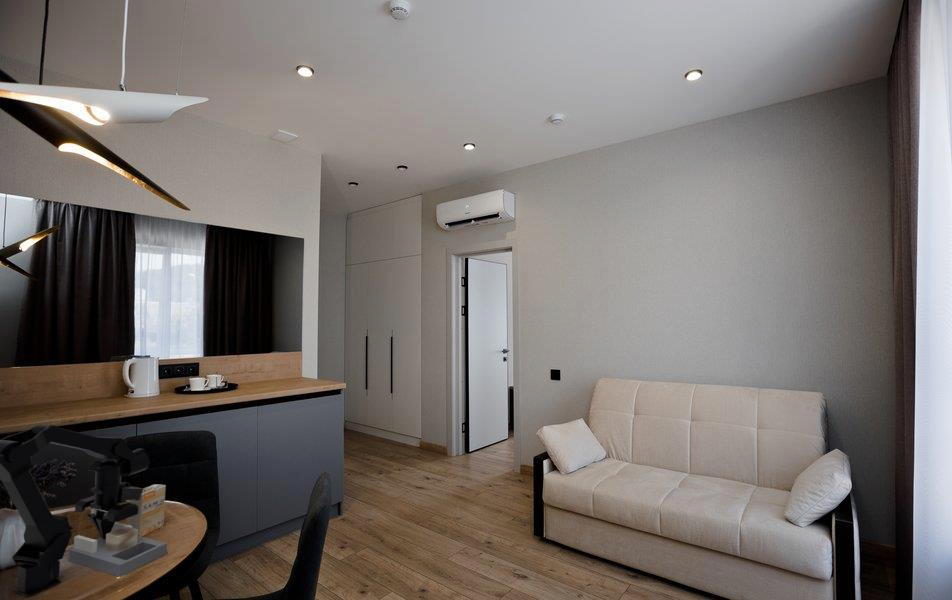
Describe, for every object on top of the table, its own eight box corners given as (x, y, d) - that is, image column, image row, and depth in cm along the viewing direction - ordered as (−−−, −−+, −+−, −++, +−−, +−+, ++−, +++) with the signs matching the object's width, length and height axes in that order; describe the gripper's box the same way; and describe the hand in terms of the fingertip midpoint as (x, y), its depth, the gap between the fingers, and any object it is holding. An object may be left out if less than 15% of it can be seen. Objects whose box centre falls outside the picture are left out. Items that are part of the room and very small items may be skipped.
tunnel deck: (119, 577, 113) (120, 553, 114) (68, 560, 121) (70, 538, 121) (166, 554, 125) (167, 532, 125) (117, 540, 132) (118, 520, 132)
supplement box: (140, 538, 133) (142, 494, 134) (127, 536, 134) (129, 493, 135) (164, 526, 141) (166, 484, 142) (152, 524, 142) (154, 483, 143)
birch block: (117, 552, 120) (118, 537, 120) (105, 549, 121) (106, 534, 121) (137, 543, 124) (137, 529, 124) (125, 540, 126) (125, 526, 126)
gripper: (159, 477, 130) (156, 532, 129) (119, 469, 136) (116, 520, 136) (116, 491, 119) (113, 550, 119) (75, 481, 126) (72, 537, 125)
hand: (105, 538), depth 125 cm, fingers closed
